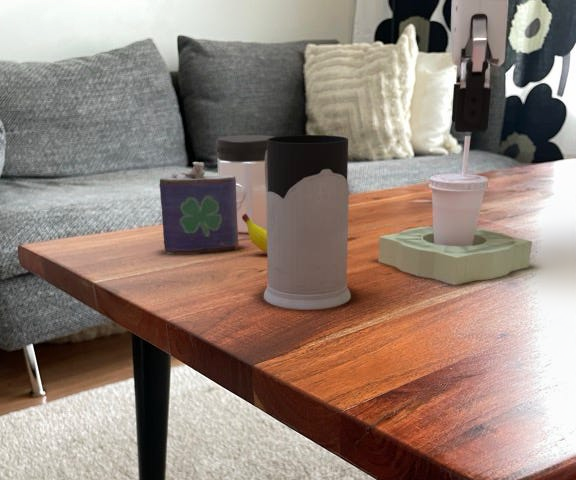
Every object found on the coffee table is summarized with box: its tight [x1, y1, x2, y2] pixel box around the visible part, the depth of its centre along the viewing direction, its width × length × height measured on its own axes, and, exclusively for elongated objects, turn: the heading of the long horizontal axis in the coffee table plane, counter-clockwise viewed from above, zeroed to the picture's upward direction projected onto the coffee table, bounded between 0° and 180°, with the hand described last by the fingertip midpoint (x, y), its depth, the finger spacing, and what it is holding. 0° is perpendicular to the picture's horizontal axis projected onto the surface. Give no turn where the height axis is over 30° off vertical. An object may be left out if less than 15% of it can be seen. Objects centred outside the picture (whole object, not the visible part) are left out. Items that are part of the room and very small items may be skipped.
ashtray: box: [377, 226, 533, 286], centre depth 82 cm, size 13×13×3 cm
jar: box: [216, 134, 273, 234], centre depth 99 cm, size 9×8×12 cm
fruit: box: [242, 214, 267, 253], centre depth 86 cm, size 10×2×5 cm, turn 88°
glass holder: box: [263, 134, 352, 311], centre depth 71 cm, size 9×14×15 cm, turn 24°
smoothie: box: [428, 135, 489, 246], centre depth 80 cm, size 6×6×14 cm
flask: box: [158, 161, 239, 255], centre depth 87 cm, size 9×3×11 cm, turn 103°
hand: (468, 126), depth 77 cm, fingers open, 9 cm apart
